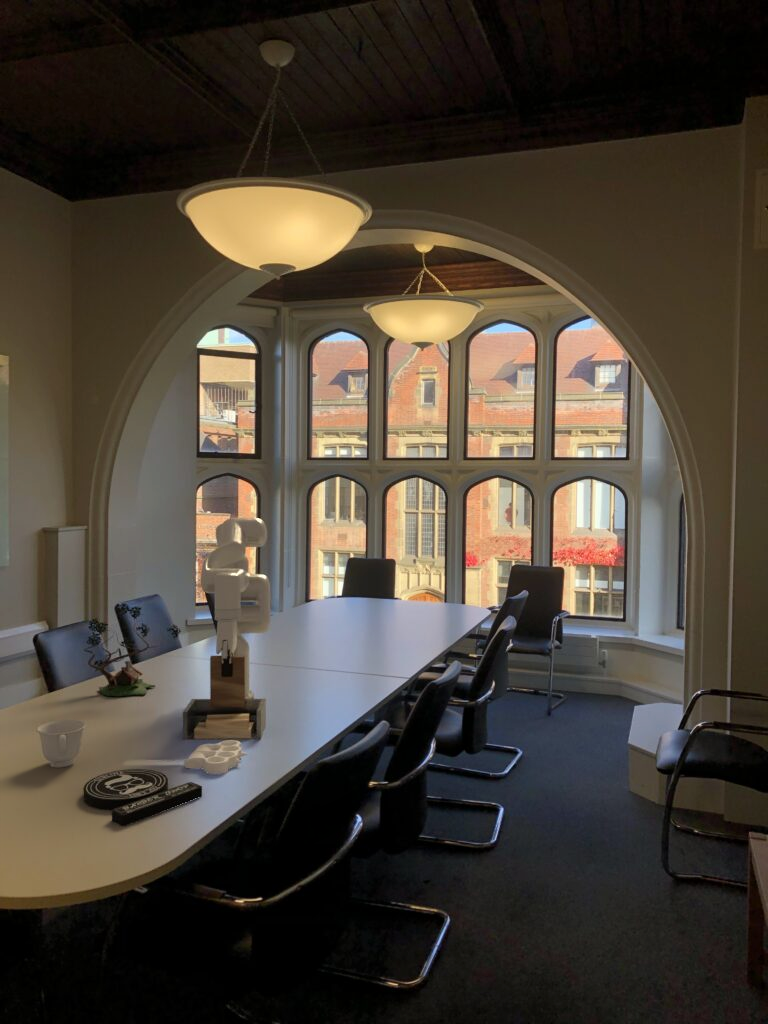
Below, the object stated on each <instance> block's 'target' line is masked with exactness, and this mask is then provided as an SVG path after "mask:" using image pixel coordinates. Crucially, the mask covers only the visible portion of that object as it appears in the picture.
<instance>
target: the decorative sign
mask: <svg viewBox="0 0 768 1024" xmlns="http://www.w3.org/2000/svg"><path fill="white" fill-rule="evenodd" d="M201 796H202V797H203V786H202V785H200V784H197V783H194V782H192V781H188V782H186V783H183V784H180V785H177V786H174V787H171V788H169V778H168V777H167V775H165V774H164V773H162V772H160V771H157V770H152V769H145V768H131V769H130V768H129V769H120V770H115V771H110V772H106V773H103V774H100V775H98V776H95V777H93V778H91V779H90V780H89V781H87V782H86V783H85V784H84V786H83V802H84V804H86V805H87V806H88V807H91V808H93V809H97V810H101V811H111V822H112V821H113V823H114V822H115V824H116V823H117V825H118V824H119V825H118V826H120V825H121V826H120V827H126V826H130V825H132V824H134V823H137V822H139V820H140V821H143V820H145V819H147V817H148V818H150V817H153V816H155V814H156V815H158V814H161V813H163V812H162V811H164V810H166V811H168V810H167V809H169V810H171V809H170V808H172V807H174V808H176V807H175V806H177V805H180V804H182V803H185V802H188V801H190V800H193V799H195V798H198V797H201ZM202 797H201V798H202ZM198 799H199V798H198ZM193 801H194V800H193ZM190 802H191V801H190ZM188 803H189V802H188ZM185 804H186V803H185ZM182 805H183V804H182ZM180 806H181V805H180ZM177 807H178V806H177ZM172 809H173V808H172ZM160 812H161V813H160ZM164 812H165V811H164ZM152 815H153V816H152ZM144 818H145V819H144ZM136 821H137V822H136ZM131 823H132V824H131Z"/></svg>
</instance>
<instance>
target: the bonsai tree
mask: <svg viewBox="0 0 768 1024" xmlns="http://www.w3.org/2000/svg"><path fill="white" fill-rule="evenodd" d="M141 610H142V607H140V606H132V607H130V606H129V605H128V604H126V602H124V603H123V602H122V603H121V604H119V605H118V607H117V608H116V611H117V613H116V614H121V615H124V616H125V619H126V620H127V622H128V623H129V625H130V627H131V628H132V630H133V631H134V632H135V633H136V634H137V636H138V637H139V638H140V639H141V640H142V641H143V642H144V643H145V645H146V647H144V648H143V649H140V648H136V647H135V648H134V647H133V646H134V644H136V641H134V640H133V639H131V638H130V636H129V637H125V638H124V639H123V640H122V641H121V642H119V640H118V639H119V638H118V637H116V639H117V643H118V644H119V645H120V647H124V648H123V650H122V651H121V648H120V647H118V648H117V649H116V650H115V651H113V652H110V651H109V650H107V649H105V648H104V647H103V645H104V644H105V643H107V642H108V641H109V640H111V639H112V638H113V637H114V635H115V634H116V636H118V634H117V633H115V631H112V633H113V635H112V636H111V637H110V638H108V639H106V640H104V641H103V640H102V638H101V636H100V635H103V633H105V632H106V631H109V632H111V630H108V629H107V627H108V625H109V624H108V623H106V622H100V621H99V619H98V618H93V619H91V620H90V621H88V624H89V626H88V630H90V631H91V632H92V635H90V636H88V637H87V638H88V640H86V643H85V644H88V645H89V646H87V647H85V648H84V649H83V651H84V652H86V653H89V654H92V656H91V657H90V658H89V660H88V662H87V663H88V666H89V667H90V668H92V669H93V668H94V672H97V671H99V672H100V673H101V674H102V675H103V676H104V677H105V679H106V681H107V684H106V685H105V686H100V687H99V686H98V690H99V691H100V692H101V694H102V695H104V696H105V695H106V696H105V697H111V696H114V697H113V698H115V697H117V698H119V697H132V696H139V697H143V696H142V695H144V696H145V695H146V694H147V693H148V689H150V688H156V685H154V684H151V683H150V684H149V683H146V682H144V681H143V680H144V679H143V678H139V677H140V676H142V675H143V674H144V673H143V672H141V671H140V670H138V669H136V667H134V666H133V665H132V660H126V661H124V664H125V666H121V670H119V671H118V672H116V674H115V675H113V674H112V673H111V672H110V671H109V670H107V669H105V667H108V666H109V665H110V664H113V663H117V662H121V661H123V660H124V659H125V658H128V657H130V656H134V655H138V654H140V653H143V652H145V651H146V650H148V649H152V648H158V647H160V646H161V645H162V644H163V640H164V639H165V638H167V637H165V636H163V638H162V640H161V643H160V644H159V645H156V646H149V643H148V642H147V641H146V640H145V639H144V638H145V637H147V635H148V633H149V632H150V631H151V630H150V627H148V625H147V624H145V623H142V622H141V625H140V626H137V627H135V626H136V624H134V625H133V626H132V625H131V624H130V621H129V620H128V618H127V615H126V614H128V612H129V615H130V616H131V617H132V618H133V620H134V621H135V620H137V619H138V617H140V616H141V615H142V616H144V614H141ZM139 621H141V619H140V620H138V622H139ZM137 631H140V633H138V632H137ZM96 632H97V633H96ZM166 632H167V633H168V632H170V633H171V635H169V637H170V636H172V638H173V639H174V640H175V639H177V638H178V637H179V634H180V633H181V628H179V626H178V625H176V624H172V626H171V627H168V628H166ZM141 634H142V635H141ZM140 635H141V636H140ZM102 641H103V642H102ZM101 642H102V643H101ZM90 644H91V646H90ZM100 644H101V645H100ZM99 645H100V648H101V649H102V650H103V651H104V652H106V653H107V654H106V655H105V656H104V660H103V659H99V660H95V661H94V663H93V664H92V660H94V658H95V656H96V654H95V653H94V652H93V651H91V650H88V649H92V648H95V647H98V646H99ZM125 649H129V650H130V651H132V652H129V653H126V654H122V653H123V652H124V650H125ZM134 650H137V651H134ZM133 651H134V652H133ZM117 653H118V654H119V655H118V656H116V657H114V658H112V655H115V654H117Z"/></svg>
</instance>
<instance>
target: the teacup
mask: <svg viewBox="0 0 768 1024" xmlns="http://www.w3.org/2000/svg"><path fill="white" fill-rule="evenodd" d="M86 726H87V724H86V723H85V722H84V721H83V720H78V719H59V720H54V721H52V720H51V721H48V722H45V723H43V724H41V725H39V726H38V727H37V728H36V732H37V733H38V734H39V737H40V746H41V751H42V754H43V757H44V759H46V760H47V761H48V762H50V764H49V765H50V766H51V767H52V768H65V767H69V766H71V765H73V764H74V763H75V762H74V760H75V758H76V757H78V755H79V754H80V751H81V748H82V742H83V741H82V739H83V734H84V729H85V727H86Z"/></svg>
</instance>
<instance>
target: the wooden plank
mask: <svg viewBox="0 0 768 1024" xmlns="http://www.w3.org/2000/svg"><path fill="white" fill-rule="evenodd" d="M209 662H210V663H209V664H210V665H209V674H210V675H209V676H210V677H209V683H210V684H209V685H210V686H209V694H210V695H209V696H210V697H209V699H210V707H245V656H232V663H233V676H232V677H222V656H221V655H211V656H210V658H209Z"/></svg>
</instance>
